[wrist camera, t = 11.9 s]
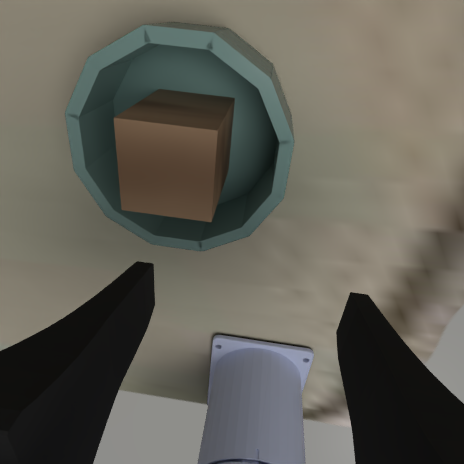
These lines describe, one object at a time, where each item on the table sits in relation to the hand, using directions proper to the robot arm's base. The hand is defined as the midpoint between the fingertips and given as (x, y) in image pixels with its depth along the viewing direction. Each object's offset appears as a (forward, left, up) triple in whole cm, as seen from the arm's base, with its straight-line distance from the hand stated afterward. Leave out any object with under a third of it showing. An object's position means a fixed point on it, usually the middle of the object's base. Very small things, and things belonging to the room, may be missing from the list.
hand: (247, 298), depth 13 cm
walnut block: (+3, +4, -9) cm, 11 cm away
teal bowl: (+3, +4, -10) cm, 11 cm away
